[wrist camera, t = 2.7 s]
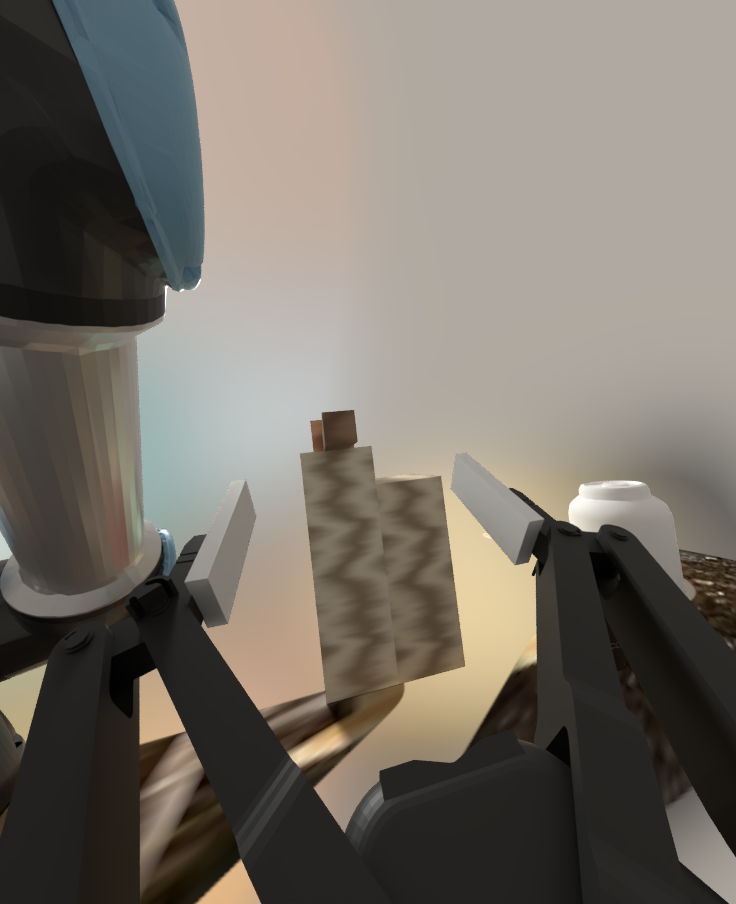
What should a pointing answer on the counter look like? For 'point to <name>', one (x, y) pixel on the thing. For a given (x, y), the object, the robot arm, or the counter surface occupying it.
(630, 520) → the white jar
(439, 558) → the stand
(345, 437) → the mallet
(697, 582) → the counter surface
